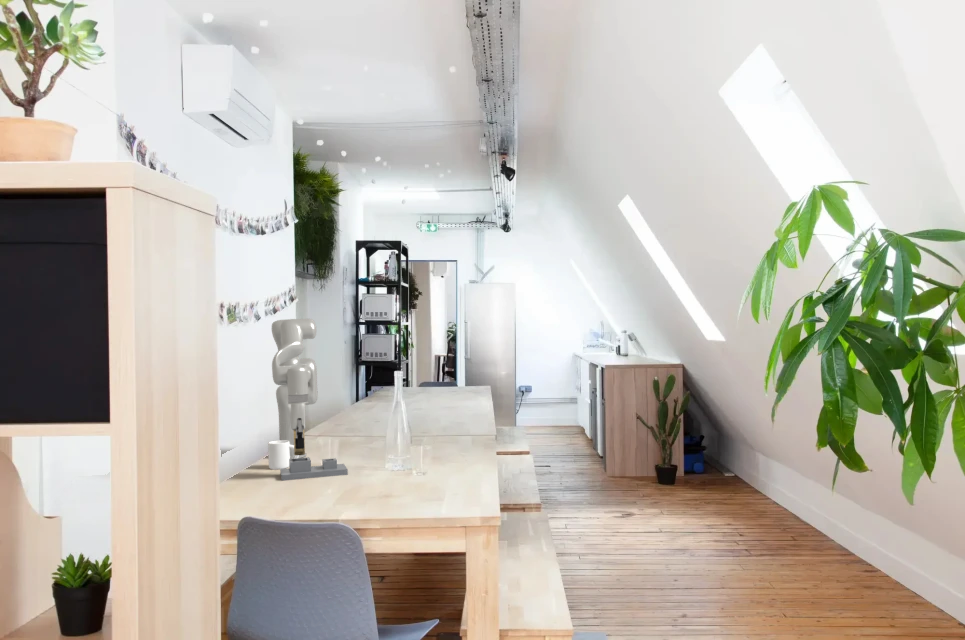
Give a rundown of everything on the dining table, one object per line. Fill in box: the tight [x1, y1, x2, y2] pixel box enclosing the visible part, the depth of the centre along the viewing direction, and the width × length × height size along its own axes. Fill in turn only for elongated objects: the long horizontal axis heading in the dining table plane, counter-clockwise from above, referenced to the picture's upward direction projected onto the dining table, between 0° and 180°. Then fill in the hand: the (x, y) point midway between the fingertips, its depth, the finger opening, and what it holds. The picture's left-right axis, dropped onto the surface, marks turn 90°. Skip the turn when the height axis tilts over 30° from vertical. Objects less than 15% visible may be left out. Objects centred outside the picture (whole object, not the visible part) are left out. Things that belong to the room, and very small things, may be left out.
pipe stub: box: [294, 426, 306, 455], centre depth 275 cm, size 4×4×12 cm
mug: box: [267, 440, 299, 470], centre depth 292 cm, size 12×8×10 cm
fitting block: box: [279, 456, 349, 481], centre depth 276 cm, size 12×24×6 cm, turn 108°
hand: (299, 447), depth 275 cm, fingers closed on pipe stub, 4 cm apart
